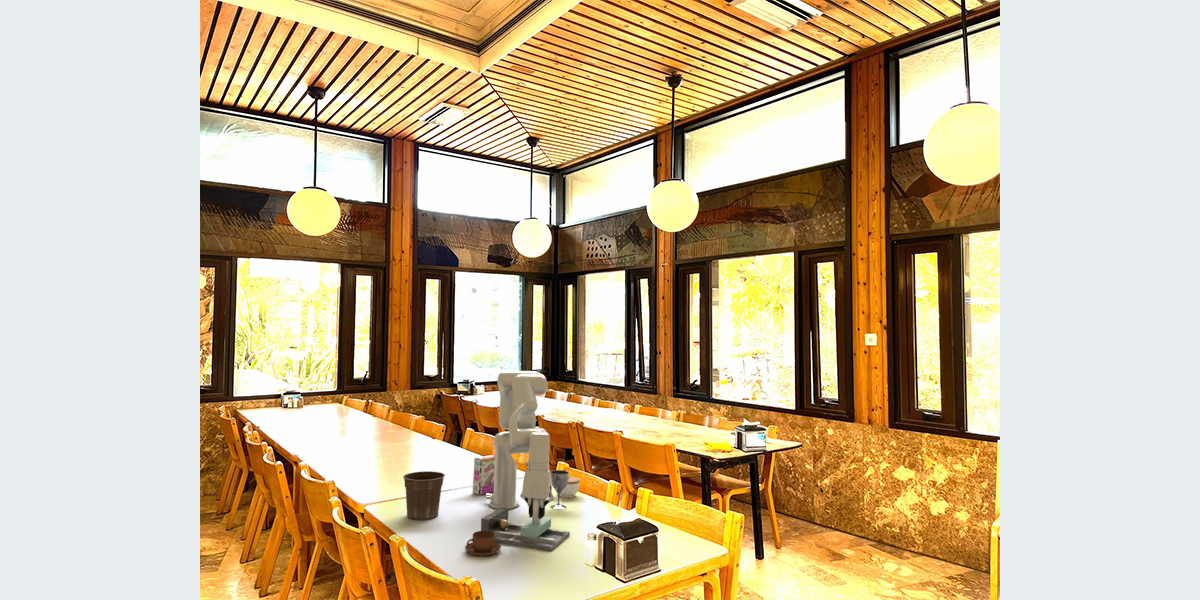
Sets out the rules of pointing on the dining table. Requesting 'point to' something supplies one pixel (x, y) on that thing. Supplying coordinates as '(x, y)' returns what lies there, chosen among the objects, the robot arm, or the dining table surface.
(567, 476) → the wine glass
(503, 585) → the dining table surface
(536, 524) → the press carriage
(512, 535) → the press base
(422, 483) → the plant pot
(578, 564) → the dining table surface
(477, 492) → the candy bar box
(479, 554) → the cup and saucer
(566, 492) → the lidded jar
